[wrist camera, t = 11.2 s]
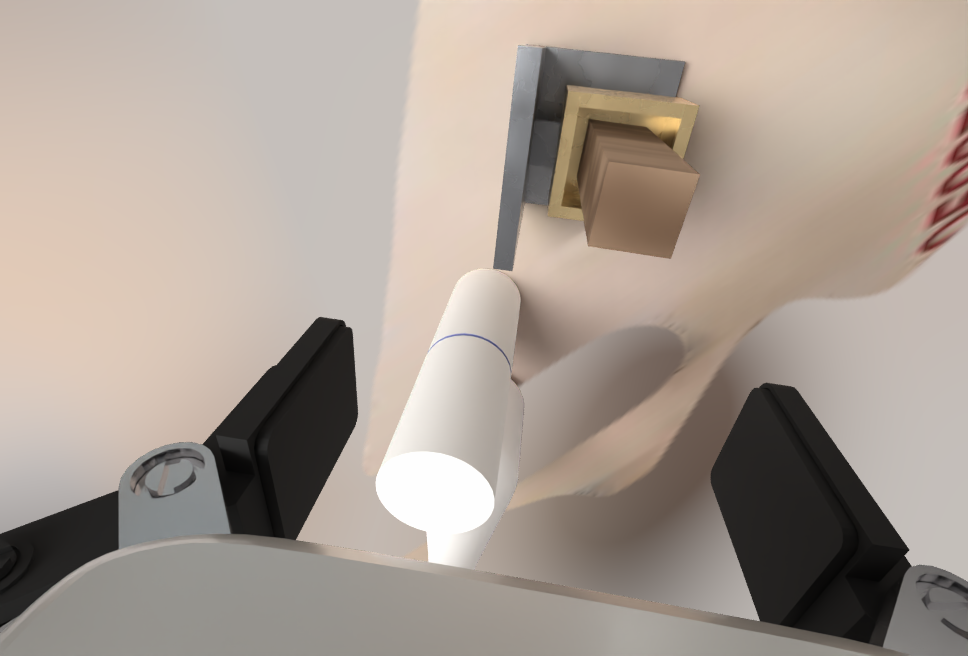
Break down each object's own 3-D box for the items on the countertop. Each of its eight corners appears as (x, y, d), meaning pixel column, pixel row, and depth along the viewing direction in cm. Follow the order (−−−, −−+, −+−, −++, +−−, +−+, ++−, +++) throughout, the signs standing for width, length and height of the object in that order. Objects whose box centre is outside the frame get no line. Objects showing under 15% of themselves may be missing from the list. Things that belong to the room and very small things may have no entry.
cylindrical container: (534, 290, 48) (517, 488, 26) (498, 340, 51) (459, 548, 30) (473, 255, 47) (405, 432, 25) (441, 308, 50) (358, 501, 29)
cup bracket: (526, 44, 37) (510, 44, 23) (681, 61, 36) (759, 71, 22) (508, 196, 43) (486, 267, 29) (640, 213, 42) (681, 294, 29)
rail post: (588, 118, 33) (608, 161, 21) (646, 126, 32) (700, 174, 21) (576, 177, 35) (588, 246, 23) (630, 184, 35) (670, 258, 23)
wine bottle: (451, 356, 53) (356, 642, 28) (532, 374, 53) (512, 678, 28) (440, 417, 58) (352, 706, 33) (515, 434, 58) (484, 738, 33)
